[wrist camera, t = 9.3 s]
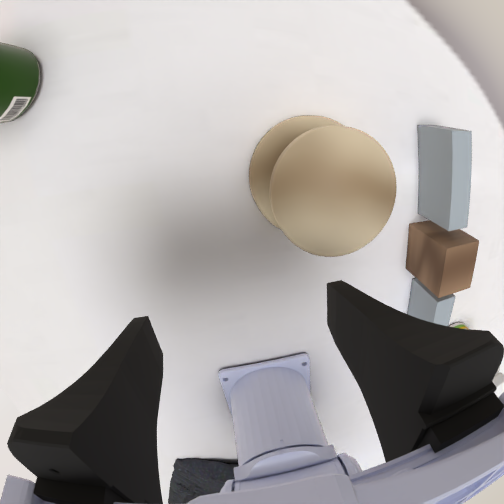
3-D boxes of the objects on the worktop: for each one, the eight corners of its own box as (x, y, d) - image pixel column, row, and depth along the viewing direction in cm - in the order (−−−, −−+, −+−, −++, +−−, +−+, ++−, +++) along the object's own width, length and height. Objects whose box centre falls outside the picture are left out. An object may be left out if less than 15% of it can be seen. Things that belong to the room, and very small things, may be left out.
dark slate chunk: (289, 454, 35) (297, 483, 31) (251, 506, 43) (254, 527, 39) (171, 450, 32) (171, 482, 28) (166, 503, 40) (167, 525, 36)
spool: (364, 222, 22) (401, 250, 17) (257, 241, 22) (271, 277, 17) (359, 112, 19) (400, 114, 14) (240, 123, 18) (251, 124, 14)
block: (435, 260, 25) (469, 287, 20) (405, 267, 25) (438, 298, 20) (440, 218, 23) (479, 240, 19) (408, 223, 23) (446, 248, 18)
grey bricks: (418, 333, 28) (438, 357, 24) (402, 338, 28) (422, 364, 24) (436, 125, 20) (471, 131, 16) (417, 125, 20) (452, 130, 16)
